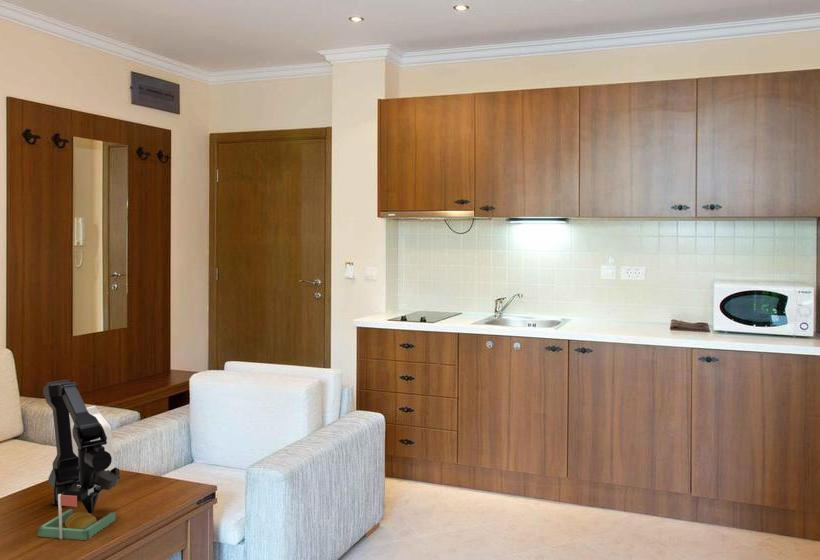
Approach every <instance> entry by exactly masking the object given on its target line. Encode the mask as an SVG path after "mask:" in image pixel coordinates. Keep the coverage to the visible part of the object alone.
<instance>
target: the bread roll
mask: <svg viewBox="0 0 820 560" xmlns="http://www.w3.org/2000/svg"><path fill="white" fill-rule="evenodd" d="M97 521H98V518H97V517H95V516H94V515H93V514H92V513H91V514H90V513H88V511H77V512H73V514H72V515H71V516H70V517H68V518H67V520H66V521H65V523H64V526H65V528H70V529H84V530H85V529H87V528H88V527H90V526H91V525H93V524H94V523H96V522H97Z"/></svg>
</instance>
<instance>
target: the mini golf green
mask: <svg viewBox="0 0 820 560" xmlns="http://www.w3.org/2000/svg"><path fill="white" fill-rule="evenodd" d="M57 507H58V515H57V516H56V517H54V518H53V519H51V520H48V522H45V523H44V524H42V525H39V527H37V536H38V537H39V538H40V537H41V538H54V539H55V538H56V539H59V540H63V539H64V540H65V539H67V540H68V539H69V540H81V541H82V540H83V541H87V540H89V539H90V538H92V537H93V536H95V535H96V534H98V533H100V532H101V531H102V530H103V528H104V529H105V528H107V527H108V526H109V525H111V524H112V523H114V522H115V521H116V511H115V512H113V511H112V512H109V513H108V514H107V515H105V516H103V517H102V518H100V519H99V520H97V522H96V523H94V524H93V525H91V526H90V527H88V528H87V529H85V530H84V529H70V528H67V527H63V525H64V524H65V521H66V520H67V518H68V517H70V516H71V515H72V514H74V509H72V508H70V509H67V510H66V511H64V512H62V511H63V510H62V507H75V508H76V507H78V501H77V496H69V495H61V494H58V505H57ZM113 521H114V522H113ZM110 523H111V524H110ZM100 530H101V531H100ZM97 532H98V533H97ZM94 534H95V535H94Z"/></svg>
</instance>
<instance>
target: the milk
mask: <svg viewBox="0 0 820 560" xmlns="http://www.w3.org/2000/svg"><path fill="white" fill-rule="evenodd" d="M86 408H87V410H88V412H89V414H91V415H93V416H95V417H96V418H97V420H98V421H99V423H100V424H101V425H102V427H103V429H104V432H105V434H106V437H107V440H106V441H107V444H105V445H102V446H103V447H104V448H105V451H107V452H108V453H109V454H110V455H111V457H112V462H111V464H110V466H109V467H108V468H107V469H105V470H106V471H107V470H109V471H111V470H112V469H113V468H115V458H114V447H113V435H112V428H111V424H109V422H108V421H107V420H105V418H104V416H102V414H101V413H100V411H99V410H98V407H97V406H96V405H93V406H92V405H91V406H87V407H86ZM73 426H74V422H73V421H72V422H70V427H71V436H72V446H73V452H74V453H75V455H76V456H77V457H78V446H77V444H76V442H75V440H74V438H73V431H72V430H73ZM96 440H100V437H99V439H96ZM92 441H95V440H92ZM78 486H80V485H77V487H78ZM80 487H81V486H80Z"/></svg>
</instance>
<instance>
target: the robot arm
mask: <svg viewBox="0 0 820 560" xmlns="http://www.w3.org/2000/svg"><path fill="white" fill-rule="evenodd" d="M78 387H79V386H78V383H77V382H76V381H75V382H74V381H70V380H68V379H62V380H56V381H50V382H47V383H46V385H45V386H43V389H42V393H43V396H44V398H45V402H46V403H47V405H48V406H49V407H50V408H51V410H52V418H53V425H54V426H53V427H54V437H55V445H56V456H55V457H54V460H53V461H52V470H51V471H50V474H49V476H48V485H49V486H50V487H52V488H53V501H52V502H50V505H52V506H58V494H61V495H69V496H77V502H81V504H82V505H83V506H84V508H85V510H86V512H88V513H90V514H91V515H92V514H94V511H95V508H96V504H97V500H98V499H99V495H100V493H102V491H105V490H106V491H109V490H111V489H112V488H114V487H116V485H117V482H118V481H119V480H120V479H121V476H120V473H121V472H120V469H119V468H118V467H115V466H114V468H113V469H112V470H111V471H109V470H107V471H106V470H105V469H107V468H108V467H109V466H110V464H111V462H112V457H111V455H110V454H109V453H108V452H107V451H105V448H104V447H103V446H102V445H105V444H107V441H106V440H107V437H106V434H105V432H104V429H103V427H102V425H101V424H100V423H99V421H98V420H97V418H96V417H95V416H93V415H91V414H89V412H88V410H87V407H86V404H85V403H84V401H83V398H82V396H81V394H80V392H79V388H78ZM70 418H71V419H70ZM71 420H72V422H74V426H73V430H72V431H73V438H74V440H75V442H76V444H77V446H78V457H77V456H76V455H75V453H74V452H73V446H72V436H71V427H70V425H71ZM99 437H100V440H96V439H99ZM92 440H95V441H92ZM77 485H80V486H81V487H78V486H77Z"/></svg>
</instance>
